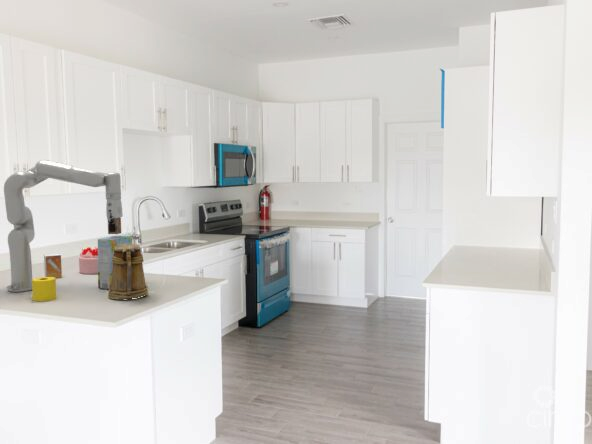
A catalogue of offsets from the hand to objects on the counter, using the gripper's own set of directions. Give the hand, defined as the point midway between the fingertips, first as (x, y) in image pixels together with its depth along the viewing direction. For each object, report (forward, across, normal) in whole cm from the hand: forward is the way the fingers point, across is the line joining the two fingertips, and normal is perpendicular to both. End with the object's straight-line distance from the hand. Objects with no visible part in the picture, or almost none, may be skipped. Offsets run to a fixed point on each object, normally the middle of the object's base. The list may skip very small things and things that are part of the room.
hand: (114, 230), depth 277 cm
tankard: (+29, -26, -17) cm, 43 cm away
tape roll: (+29, -31, +22) cm, 48 cm away
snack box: (+29, 0, 0) cm, 29 cm away
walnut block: (+2, 0, 0) cm, 2 cm away
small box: (+29, +17, +44) cm, 55 cm away
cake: (+29, +37, +27) cm, 54 cm away
